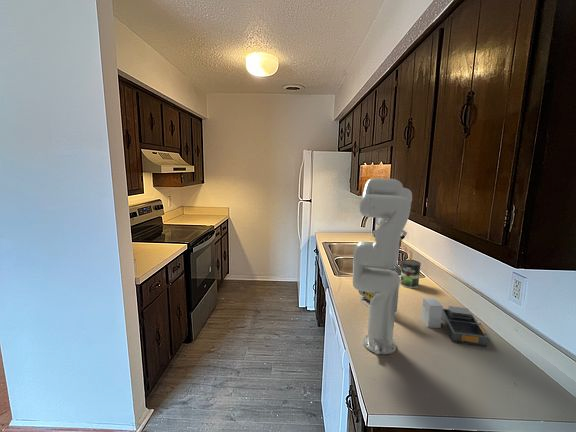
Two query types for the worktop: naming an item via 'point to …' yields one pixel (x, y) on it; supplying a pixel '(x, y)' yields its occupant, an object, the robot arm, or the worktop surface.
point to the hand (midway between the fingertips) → (388, 247)
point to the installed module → (459, 314)
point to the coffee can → (410, 273)
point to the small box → (432, 312)
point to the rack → (465, 331)
